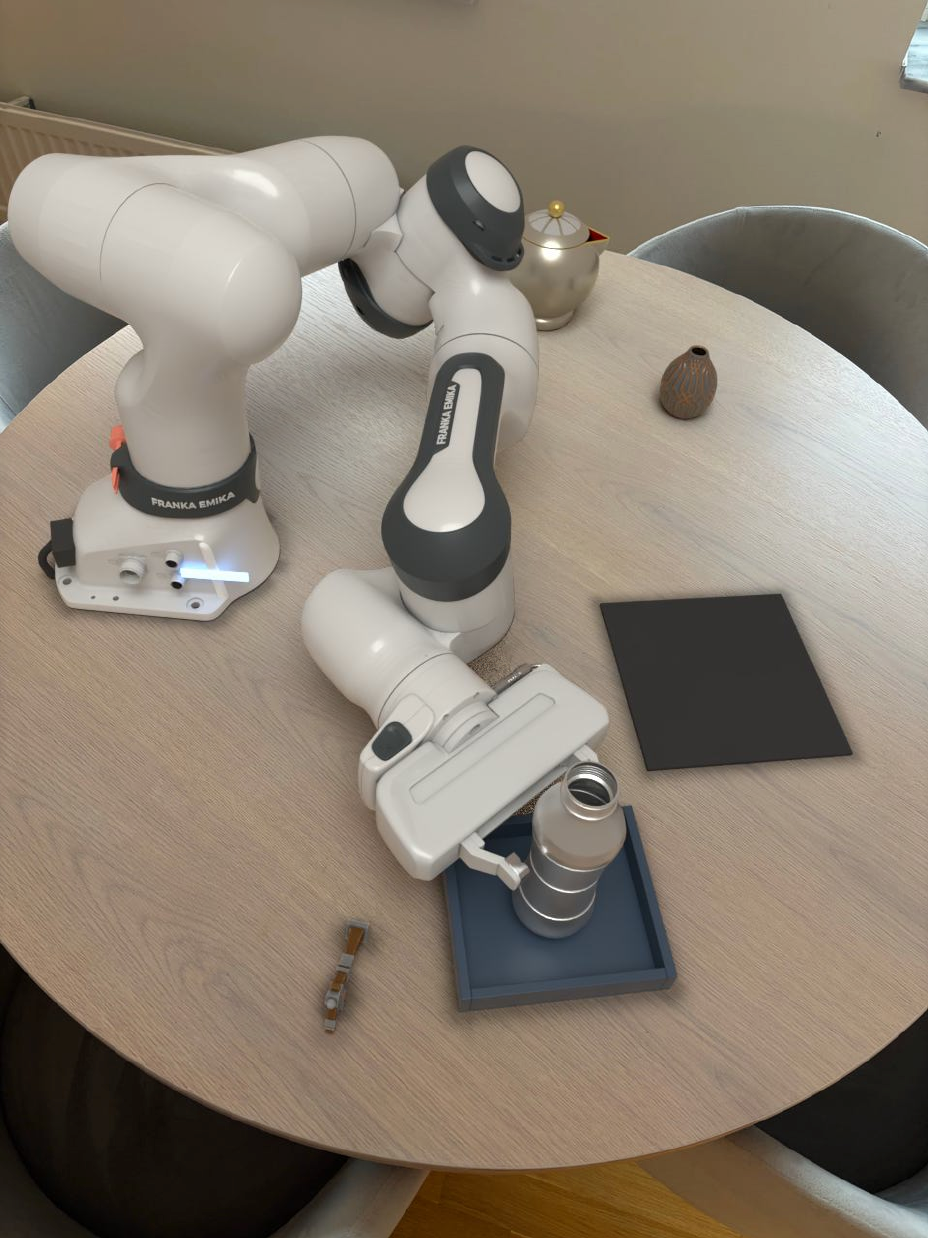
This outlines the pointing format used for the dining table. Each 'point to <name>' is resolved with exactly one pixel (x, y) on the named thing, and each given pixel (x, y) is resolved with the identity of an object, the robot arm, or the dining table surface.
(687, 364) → the vase
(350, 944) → the wooden post with brackets
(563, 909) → the silver metal bottle
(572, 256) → the teapot
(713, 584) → the dining table surface
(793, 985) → the dining table surface
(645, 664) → the mat
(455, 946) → the tray
